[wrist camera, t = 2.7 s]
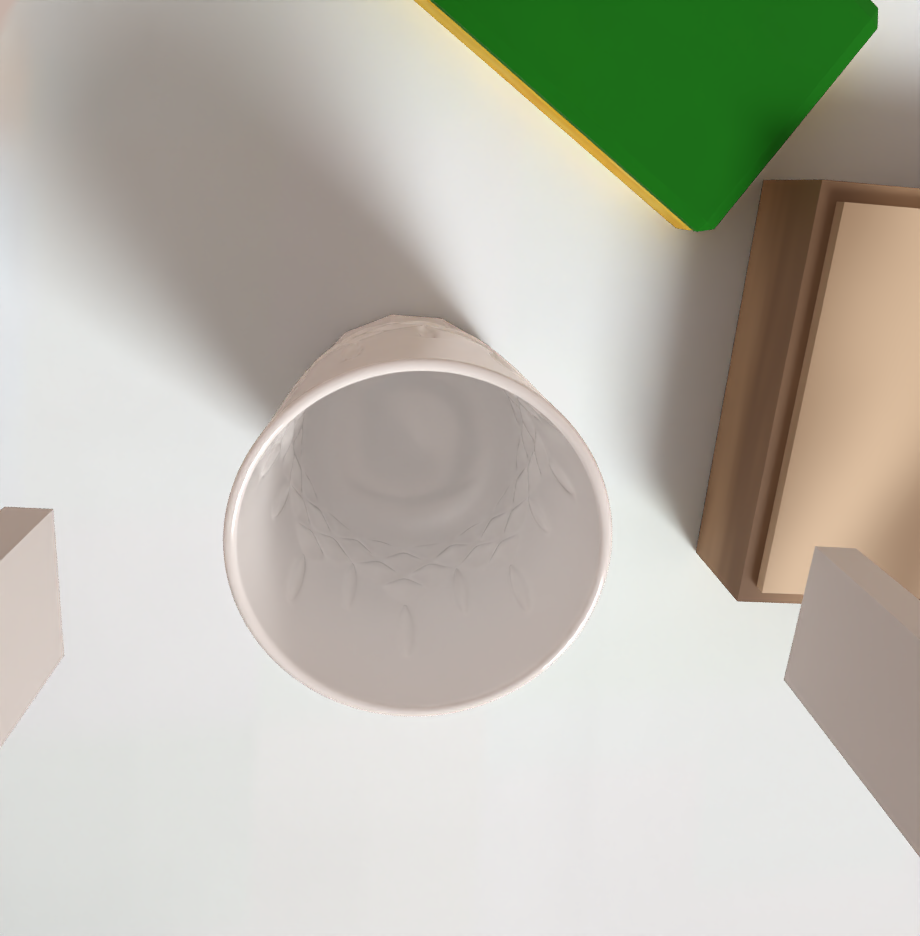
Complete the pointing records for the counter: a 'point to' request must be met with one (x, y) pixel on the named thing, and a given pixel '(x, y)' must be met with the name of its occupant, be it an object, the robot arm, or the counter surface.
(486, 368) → the white cup
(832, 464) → the walnut plinth
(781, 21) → the dish sponge
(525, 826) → the counter surface
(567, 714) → the counter surface
